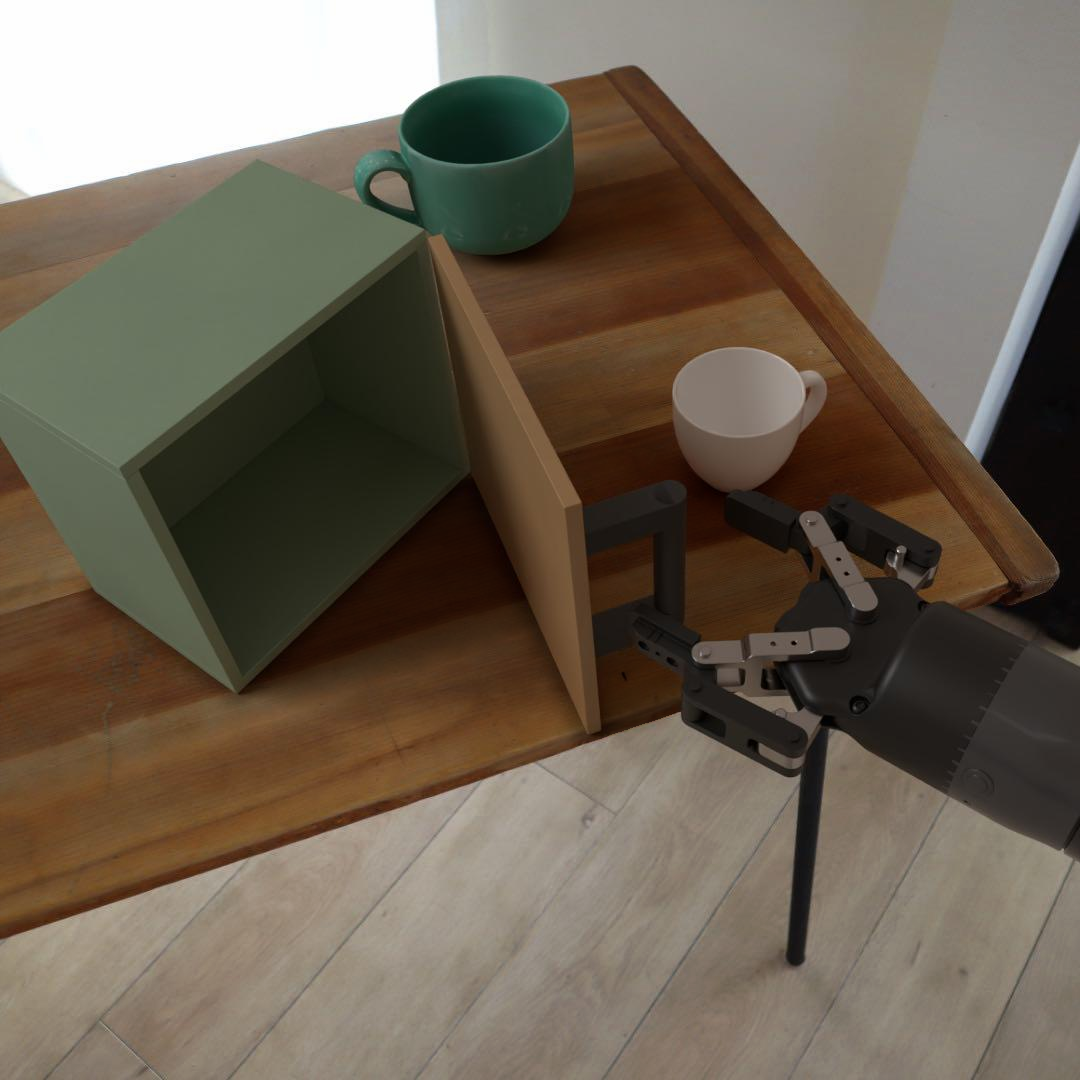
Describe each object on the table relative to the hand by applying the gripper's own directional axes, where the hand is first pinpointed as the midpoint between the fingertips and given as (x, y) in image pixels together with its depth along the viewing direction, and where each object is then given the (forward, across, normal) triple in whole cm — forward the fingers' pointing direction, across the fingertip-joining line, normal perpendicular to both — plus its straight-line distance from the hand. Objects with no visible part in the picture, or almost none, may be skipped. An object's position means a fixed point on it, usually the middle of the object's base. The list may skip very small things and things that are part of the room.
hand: (681, 558), depth 58 cm
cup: (+5, +15, -10) cm, 19 cm away
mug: (+36, +25, -10) cm, 44 cm away
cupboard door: (+8, +2, -9) cm, 13 cm away
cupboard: (+26, -6, -10) cm, 28 cm away
